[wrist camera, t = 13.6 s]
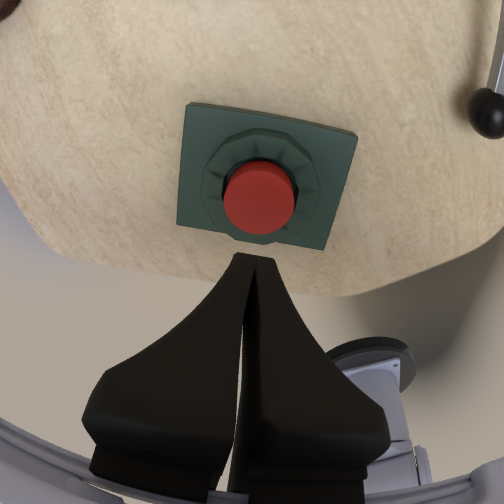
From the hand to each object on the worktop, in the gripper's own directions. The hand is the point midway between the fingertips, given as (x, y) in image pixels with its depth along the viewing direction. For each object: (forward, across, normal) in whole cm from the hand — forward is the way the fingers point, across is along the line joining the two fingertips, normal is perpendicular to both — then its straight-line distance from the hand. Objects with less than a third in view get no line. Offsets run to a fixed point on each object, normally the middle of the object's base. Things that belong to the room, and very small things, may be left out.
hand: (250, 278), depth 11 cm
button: (+8, 0, 0) cm, 8 cm away
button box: (+10, 0, 0) cm, 10 cm away
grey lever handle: (+7, -11, -20) cm, 24 cm away
